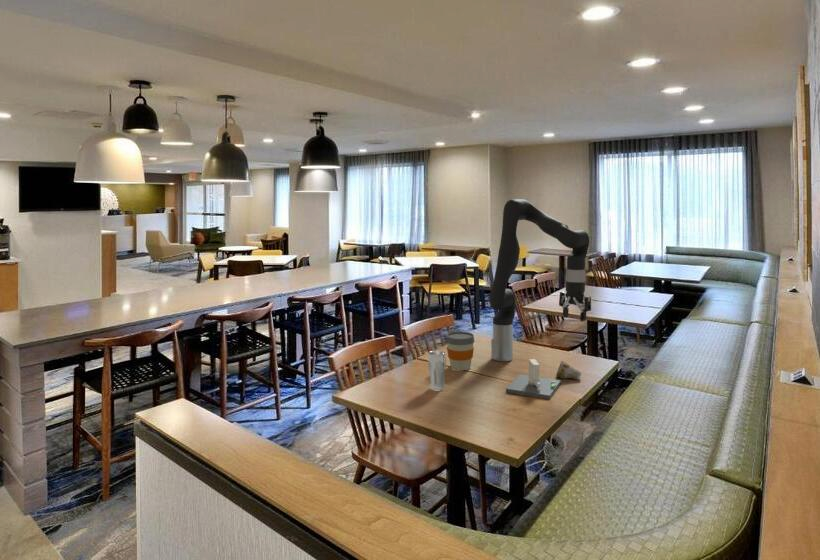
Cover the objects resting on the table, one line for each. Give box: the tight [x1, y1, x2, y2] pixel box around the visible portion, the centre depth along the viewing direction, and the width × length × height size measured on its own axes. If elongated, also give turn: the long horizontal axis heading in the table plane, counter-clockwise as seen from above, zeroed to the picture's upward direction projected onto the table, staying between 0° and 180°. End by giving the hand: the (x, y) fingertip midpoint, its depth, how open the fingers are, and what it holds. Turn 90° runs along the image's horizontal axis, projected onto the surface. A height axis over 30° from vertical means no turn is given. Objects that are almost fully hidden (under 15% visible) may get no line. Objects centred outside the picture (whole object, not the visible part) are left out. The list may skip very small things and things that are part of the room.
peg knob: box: [527, 358, 541, 387], centre depth 204 cm, size 10×4×9 cm, turn 1°
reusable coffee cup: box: [445, 331, 475, 371], centre depth 232 cm, size 13×13×15 cm
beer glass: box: [427, 350, 447, 391], centre depth 207 cm, size 7×7×15 cm
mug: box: [556, 360, 582, 381], centre depth 216 cm, size 8×10×10 cm
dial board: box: [505, 374, 562, 400], centre depth 206 cm, size 17×18×2 cm
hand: (574, 318), depth 212 cm, fingers open, 8 cm apart
